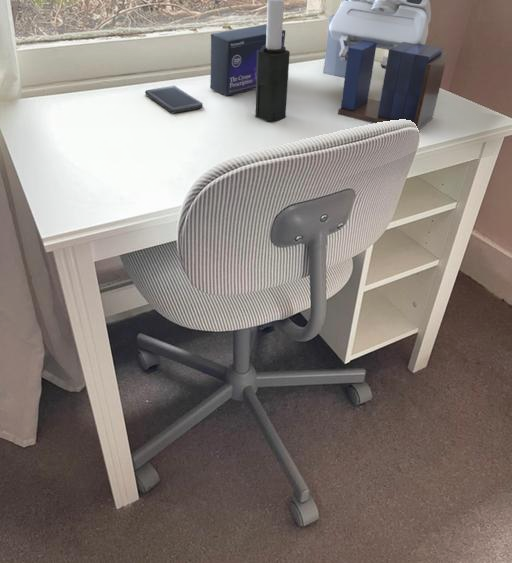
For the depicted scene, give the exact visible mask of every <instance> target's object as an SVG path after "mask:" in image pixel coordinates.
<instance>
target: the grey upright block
mask: <svg viewBox="0 0 512 563" xmlns="http://www.w3.org/2000/svg"><path fill="white" fill-rule="evenodd" d="M335 14H336V13H335ZM335 14H332V15H329V18H328V24H327V33H326V34H327V35H326V44H325V53H324V54H325V55H324V63H323V74H327V75H332V76H337V77H341V78H345V72H346V64H347V61H343V60H340V59H339V53H340V51H341V43H340V41H338V40H334V39H333V38H332V36H331V34H330V30H329V25H330V23H331V21H332V19H333V17H334V16H335ZM353 45H355V44H354V43H350V44H349V46H346V49H349V47H351V46H353Z"/></svg>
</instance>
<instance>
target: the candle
mask: <svg viewBox="0 0 512 563" xmlns="http://www.w3.org/2000/svg"><path fill="white" fill-rule="evenodd" d="M284 3H285V0H267V4H266V5H267V8H266V24H267V31H266V45H263V46H262V48H261V49H260V50H258V51H257V73H256V89H255V110H254V112H255V113H254V116H255V118H257V119H261V120H262V121H265V122H267V123H275V122H278V121H280V120H283V119H285V118H286V115H287V99H288V84H289V69H290V55H291V54H290V50H288V49H287V48H286V46H285V45H284V46H281V43H282V30H283V24H284V23H283V22H284V5H285V4H284Z"/></svg>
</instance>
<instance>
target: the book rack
mask: <svg viewBox="0 0 512 563" xmlns="http://www.w3.org/2000/svg"><path fill="white" fill-rule="evenodd" d="M443 49H444V47H440V46H435V45H428V44H425V45H424V44H413V43H407V42H402V43H400V44H398V45H397V46H395V47H393V48H391V49H389V50H388V54H387V57H388V59H387V65H386V69H385V71H384V78H383V83H382V88H381V94H380V100H376V99H372V98H368V102H366V103H365V104H363V105H362V106H360V107H359V108H357V109H356V110H354V111H352V110H348V109H344V108H341V107H340V108H338V110H337V115H341V116H345V117H349V118H353V119H356V120H361V121H364V122H367V123H368V122H369V123H373V124H376V123H377V122H383V121H390V120H399V119H406V120H411V121H412V122H414V123H415V124H416V126H417V128H418V130H419V131H420V130H421V129H423V128H424V127H425V126H426V125H427V124H428V123H429V122H430V121H431V120H432V119H433V118H434V113H435V111H436V110H435V109H436V105H437V101H438V97H439V93H440V88H441V84H442V81H443V75H444V72H445V67H446V64H447V58H448V55H449V52H445V51H444V52H443Z"/></svg>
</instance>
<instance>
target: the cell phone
mask: <svg viewBox="0 0 512 563" xmlns="http://www.w3.org/2000/svg"><path fill="white" fill-rule="evenodd" d="M144 93H145V95H146V96H148V98H150V99H151V100H153V101H154V102H155V103H157V104H159V105H160V106H161V107H162V108H164V109H165V110H167V111H168V112H170V113H172V114H177V113H182V112H188V111H193V110H197V109H201V108H202V107H204V105H203V102H201V101H200V100H198V99H196V98H195V97H193V96H192V95H190V94H188V92H186V91H183V90H182V89H180V87H178V86H175V85H169V86H163V87H157V88H152V89H145V92H144Z"/></svg>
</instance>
